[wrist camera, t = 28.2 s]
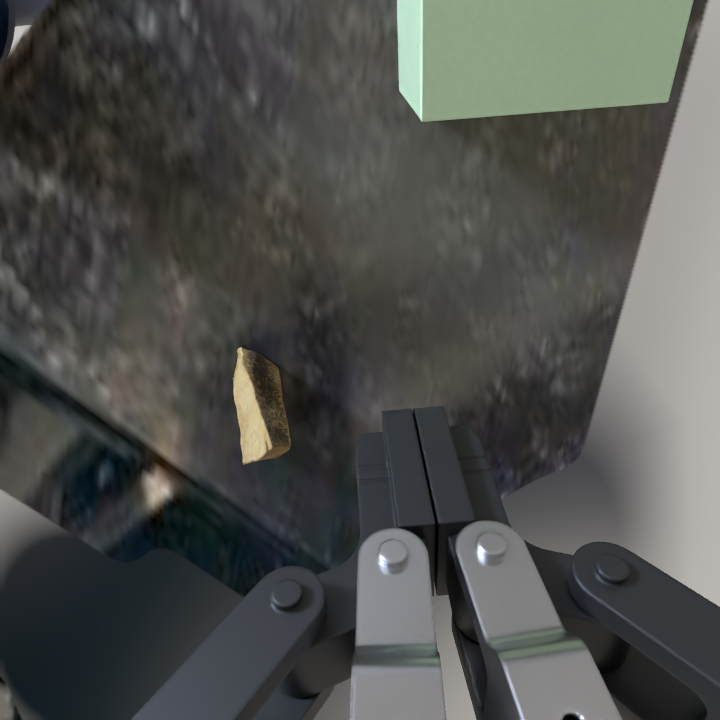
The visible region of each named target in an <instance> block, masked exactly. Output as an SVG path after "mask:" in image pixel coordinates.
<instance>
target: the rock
mask: <svg viewBox="0 0 720 720" xmlns="http://www.w3.org/2000/svg"><path fill="white" fill-rule="evenodd" d="M237 352H238V360H237V365H236V369H235V373H234V378H233V385H234V391H233V394H234V400H235V404H236V407H237V415H238V421H239V426H240V431H241V449H242V455H243V464H248V463H251V462H255V461H260V460H264V459H271V458H278V457H280V455H281V454H284V453H285V452H287V451H289V449H290V446H291V440H290V435H289V428H288V421H287V418H286V412H285V409H284V403H283V400H282V389H281V379H280V373H279V369H278V367H276V366H275V365H274V364H273V363H271V362H270V361H269V360H267V359H266V358H264V357H263V356H262V355H260V354H258V353H256V352H253V351H250V350H246V349H244V348H243V347H241V348H239V349H238V350H237Z"/></svg>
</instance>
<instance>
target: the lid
mask: <svg viewBox="0 0 720 720" xmlns="http://www.w3.org/2000/svg"><path fill="white" fill-rule="evenodd" d="M693 1H694V0H420V119H421V121H422V122H427V121H440V120H453V119H465V118H478V117H490V116H503V115H515V114H528V113H540V112H553V111H565V110H578V109H590V108H603V107H615V106H628V105H640V104H653V103H665V102H668V101H669V97H670V93H671V89H672V85H673V81H674V77H675V73H676V69H677V65H678V61H679V57H680V53H681V49H682V45H683V41H684V37H685V33H686V29H687V25H688V21H689V17H690V13H691V9H692V5H693Z"/></svg>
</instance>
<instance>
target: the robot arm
mask: <svg viewBox="0 0 720 720" xmlns="http://www.w3.org/2000/svg"><path fill="white" fill-rule="evenodd" d="M382 428H383V432H379V433H366V434H362V436H361V438H360V440H359V442H358V444H357V446H356V448H355V457H356V472H357V488H358V503H359V519H360V541H359V544H358V547H357V549H356V550H355V552H354V553H353V555H352V556H351V557H350V558H349V559H348V560H347V561H345V562H344V563H343V564H341V565H339V566H337V567H335V568H333V569H331V570H328V571H326V572H323V573H321V574H318V575H316V574H315V573H314V572H312V571H311V570H309V569H307V568H303V567H299V566H287V567H282V568H279V569H276V570H274V571H272V572H270V573H269V574H267V575H266V576H265V577H264V578H262V579H261V580H260V581H259V583H258V584H257V585H256V586H255V587H254V588H253V589H252V590H251V591H250V592H249V593H248V594H247V595H246V596H245V598H244V599H243V600H242V601H241V602H240V603H239V604H238V605H237V606H236V607H235V608H234V609H233V610H232V612H231V613H230V614H229V615H228V616H227V617H226V618H225V619H224V620H223V621H222V622H221V623H220V624H219V625H218V626H217V628H216V629H215V630H214V631H213V632H212V633H211V634H210V635H209V636H208V637H207V638H206V639H205V640H204V642H203V643H202V644H201V645H200V646H199V647H198V648H197V649H196V650H195V651H194V652H193V653H192V654H191V655H190V657H189V658H188V659H187V660H186V661H185V662H184V663H183V664H182V665H181V666H180V667H179V669H178V670H177V671H176V672H175V673H174V674H173V675H172V676H171V677H170V678H169V679H168V680H167V681H166V682H165V683H164V685H163V686H162V687H161V688H160V689H159V690H158V691H157V692H156V693H155V694H154V695H153V696H152V697H151V698H150V700H149V701H148V702H147V703H146V704H145V705H144V706H143V707H142V708H141V709H140V710H139V711H138V712H137V713H136V715H135V716H134V717H133V718H132V719H131V720H313V719H314V717H315V716H316V715H317V713H318V712H319V710H320V709H321V707H322V706H323V704H324V703H325V701H326V700H327V698H328V697H329V696H330V694H331V693H332V691H333V689H334V686H335V685H336V684H338V683H340V682H343V681H345V680H347V679H349V678H351V697H350V698H351V699H350V720H446V711H445V701H444V692H443V680H442V670H441V662H440V656H439V652H438V650H437V643H436V632H435V623H434V622H435V621H434V611H433V601H432V596H434V583H435V588H436V594H437V596H438V595H439V596H440V595H449V599H450V604H451V609H452V632H453V636H454V640H455V643H456V647H457V650H458V654H459V657H460V661H461V665H462V668H463V672H464V675H465V679H466V682H467V686H468V690H469V693H470V697H471V700H472V704H473V707H474V711H475V715H476V719H477V720H720V607H719V606H717V605H716V604H714V603H712V602H711V601H709V600H708V599H706V598H704V597H703V596H701V595H700V594H698V593H696V592H695V591H693V590H692V589H690V588H688V587H687V586H685V585H683V584H682V583H680V582H679V581H677V580H675V579H674V578H672V577H671V576H669V575H668V574H666V573H664V572H663V571H661V570H659V569H658V568H656V567H655V566H653V565H652V564H650V563H648V562H647V561H645V560H643V559H642V558H640V557H639V556H637V555H636V554H634V553H632V552H631V551H629V550H627V549H625V548H623V547H621V546H619V545H616V544H612V543H607V542H592V543H589V544H586V545H584V546H582V547H581V548H579V549H578V550H577V551H576V553H575V554H574V555H569V554H564V553H559V552H554V551H549V550H545V549H541V548H539V547H536V546H534V545H532V544H530V543H528V542H526V541H525V540H523V539H522V537H521V536H520V535H519V534H518V533H517V532H516V531H515V530H514V529H512V527H511V525H510V524H509V521H508V519H507V516H506V513H505V510H504V507H503V505H502V501H501V499H500V496H499V493H498V490H497V487H496V484H495V481H494V478H493V476H492V473H491V472H490V467H489V464H488V461H487V458H486V457H485V452H484V450H483V447H482V444H481V441H480V439H479V438H478V437H477V436H476V435H475V434H474V433H473V431H472V430H471V429H470V428H469V427H468V426H467V425H463V426H451V427H449V425H448V421H447V418H446V414H445V411H444V408H443V406H439V407H427V408H414V409H413V414H412V410H411V409H403V410H391V411H382Z"/></svg>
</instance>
